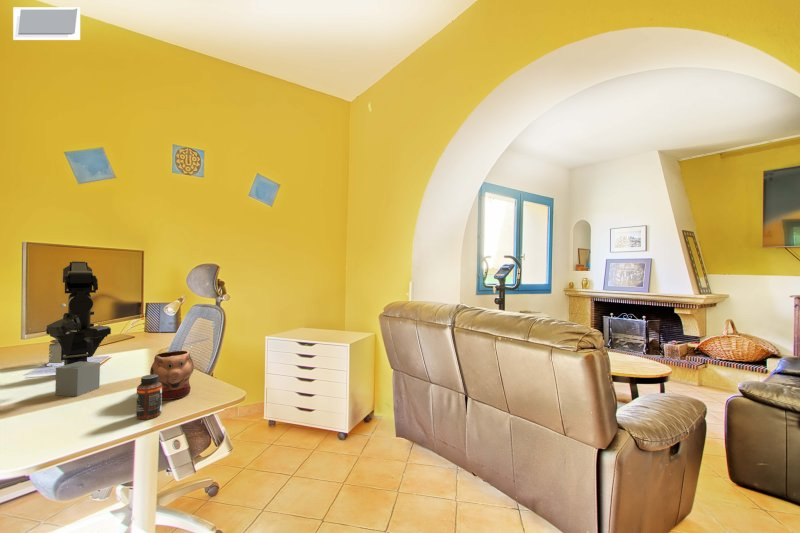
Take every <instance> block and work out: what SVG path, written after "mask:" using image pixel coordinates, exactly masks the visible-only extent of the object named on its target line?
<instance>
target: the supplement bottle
mask: <svg viewBox="0 0 800 533" xmlns="http://www.w3.org/2000/svg"><path fill="white" fill-rule="evenodd" d="M140 378H141V379H140V382H141V383H140V384H138V386H137V387H136V407H135V408H136V411H135V412H136V413H135V414H136V418H137V419H139V420H149V419H153V418H157V417H158V416H160V415H161V414H162V409H163V408H162V407H163V406H162V404H163V403H162V402H163V399H162V384H161V382H159V381H158V375H156V374H153V375H150V374H147V375H144V376H142V377H140Z"/></svg>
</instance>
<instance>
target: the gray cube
mask: <svg viewBox="0 0 800 533" xmlns="http://www.w3.org/2000/svg"><path fill="white" fill-rule="evenodd" d="M100 374H101V362H98V361H97V362H96V361H95V362H94V361H88V362H81V361H79V362H75V363H72V364H68V365H63V366H56V367H55V393H54V395H55V396H64V397H65V396H66V397H80V396H82V395H84V394H88V393H89V392H93V391H95V390H98V389H100V381H101V380H100V377H101V376H100ZM87 392H88V393H87Z"/></svg>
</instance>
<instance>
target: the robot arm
mask: <svg viewBox="0 0 800 533" xmlns="http://www.w3.org/2000/svg"><path fill="white" fill-rule="evenodd" d="M62 283H64V294H65V295H66V294H67V295H68V294H69V295H68V299H67V309H68V310H67V312H65V313H64V312H63V319H62V318H60V319H59V320H56V321H54V322H52V323H49V324H47V325H46V329H45V331H46V332H45V333H46V335H49V337H51V338H54V340H55V339H56V340H58V342H59V344H60V346H61V361H63V360H64V365H68V364H72V363H75V362H79V361H81V362H89V361H88V358H92V357H93V356H94V355H95V354H96V351H97V350H98V349H99V346H100V344H101V343H102V341H103V340H104V339H105V338H107V337H108V336H109V335H112V333H111V332H112V331H111V330H112V328H111V327H110V326H109V325H97V326H95V324H94V323H91V321H92V318H91V316H93V315H95V311H92V308H93V305H94V301H93V299H92V295H91V294H96V292H97V291H98V290H99V282H98V278H97V276H96V275H94V272H93V269H92V268H91V267H90V266H88V262H87V261H75V260H73V261H70V262H69V265H67V266H65V267H64V268H63V269H62ZM63 355H66V356H63ZM64 365H63V366H64Z"/></svg>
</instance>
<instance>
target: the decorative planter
mask: <svg viewBox="0 0 800 533" xmlns="http://www.w3.org/2000/svg"><path fill="white" fill-rule="evenodd" d="M194 368H195V365H194V361H193V359H192V357H191V353H190V352H189V351H188V350H173V351H164V352H159V353H157V354H155V356H154V360H153V363H152V364H151V366H150V370H149V375H153V374H156V375H158V381H159V382H161V384H162V400H173V399H179V398H183V397H186V396H189V395H190V392H191V387H192V386H191V385H190V384H191V383H190V379H191V376H192V374H193V372H194V370H195V369H194Z"/></svg>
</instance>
